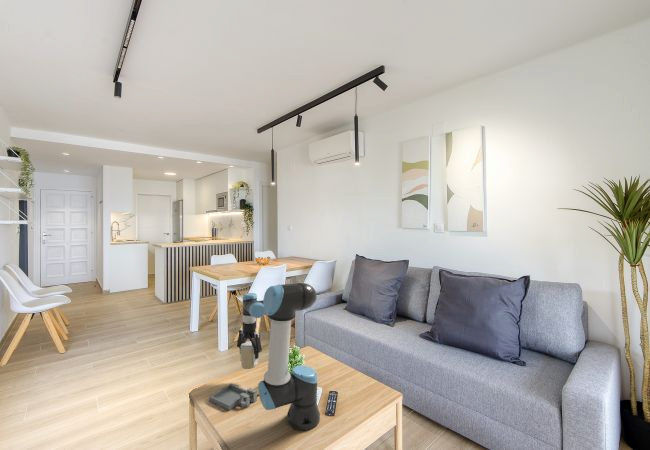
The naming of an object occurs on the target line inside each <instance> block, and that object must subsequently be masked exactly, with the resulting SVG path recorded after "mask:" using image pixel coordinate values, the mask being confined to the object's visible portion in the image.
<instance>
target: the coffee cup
mask: <svg viewBox="0 0 650 450" xmlns="http://www.w3.org/2000/svg"><path fill="white" fill-rule="evenodd" d="M240 348H241V361H240V362H241V369H244V370H251V369H254V368H256V366H257V364H256V365H253V353H255V352H254V348H253V346H252V343H251V341H250V340H247V341H246V343H243V344H241V346H240ZM256 351H257V350H256Z"/></svg>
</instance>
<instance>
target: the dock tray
mask: <svg viewBox="0 0 650 450" xmlns="http://www.w3.org/2000/svg"><path fill="white" fill-rule="evenodd" d="M249 392H251V393H253V398H250V395H249ZM208 401H209V402H210V403H212V404H214V405H215V406H218V407H220V408H222V409H225V411H232V410H233V409H234V408H236V407H237V406H238V405H239V406H241V407H243V408H246V409H248V408H249V407H250V405H251V403H256V402H257V401H258V395H257V390H254V388H251V387H248V389H245V388H243V387H240V386H238V385H237V384H236V385H235V384H234V383H229V384H228V385H227V384H226V386H224V387H222V388H221V389H219V390H217V391H215V392H214V393H213V394H210V395H209V397H208ZM250 402H251V403H250Z"/></svg>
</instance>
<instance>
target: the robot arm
mask: <svg viewBox="0 0 650 450" xmlns="http://www.w3.org/2000/svg"><path fill="white" fill-rule="evenodd" d="M317 297H318V296H317V291H316V289H315V288H314V287H313V286H312V285H311V284H308V283H306V282H298V283H297V282H295V283H286V284H276V285H271V286H269V287H268V288H266V291H265V292H264V295H263V300H258V295H257V293H255V292H246V293H244V294H243V295H242V321H241V322H242V325H241V327H242V328H241V329H239V330H238V338H237V342H236V347H237V348H238V349H239V354H240V358H239V359H240V362H241V348H240V346H241V344H243V343H246V342H248V340H249V341H251V343H252V346H253V348H254V352H255V353H253V365H256V366H257V364H258V363H259V361H258V360H259V357H260V355H259V353H261V352H262V349H263V348H262V344H261V333H260V332H259V333H258V332H257V331H256V329H257V319H260V318H262V317H263V316H265V315H267V318H268V319H269V321H270V328H269V329H270V331H269V333H270V334H269V344H268V345H269V346H268V362H267V363H268V364H267V371H265V373H264V374H263V380H264V381H263V380H261V381H259V382H258V390H259V394H258V395H259V399H260V402H261V405H262V407H263V408H264V410H266V411H271V410H276V409H278V408H282V407H285V406H287V405H289V408H288V411H287V414H286V415H287V416H286V423H287V424H288V425H289V427H290V428H292V429H294V430H297V431H309V430H311V429H314V428H315V427H317V426H318V425H319V423H320V420H321V413H320V410H319V406H318V402H317V400H318V397H317V396H318V373H317V371H316V370H315V369H314V368H312V367H310V366H307V365H296V366H294V367H293V368H292V370H291V373H290V372H289V356H290V344H291V343H290V342H291V329H292V321H294V320H295V319H296V313H297V312H300V311H304V310H308V309H310V308H311V307H312V306H314V305H315V304H316V301H317ZM256 350H257V351H256Z"/></svg>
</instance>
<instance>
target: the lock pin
mask: <svg viewBox="0 0 650 450" xmlns="http://www.w3.org/2000/svg"><path fill="white" fill-rule="evenodd" d="M262 381H264V379H263V380H262ZM253 389H254V390H257V396H258V395H259V390H258V386H256V387H255V388H253ZM249 395H250V398H253V393H251V392H249Z"/></svg>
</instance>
